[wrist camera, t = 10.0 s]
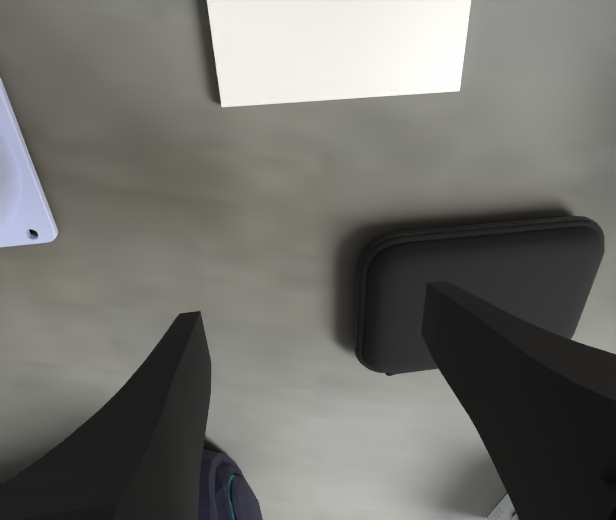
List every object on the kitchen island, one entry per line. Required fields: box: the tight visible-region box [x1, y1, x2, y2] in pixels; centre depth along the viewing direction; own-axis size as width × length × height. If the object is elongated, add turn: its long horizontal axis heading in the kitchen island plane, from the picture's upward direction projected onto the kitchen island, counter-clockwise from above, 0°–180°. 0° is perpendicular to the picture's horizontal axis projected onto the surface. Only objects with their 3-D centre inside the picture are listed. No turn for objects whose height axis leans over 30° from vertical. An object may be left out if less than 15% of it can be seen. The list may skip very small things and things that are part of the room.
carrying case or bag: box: [354, 216, 604, 376], centre depth 24 cm, size 11×3×15 cm
